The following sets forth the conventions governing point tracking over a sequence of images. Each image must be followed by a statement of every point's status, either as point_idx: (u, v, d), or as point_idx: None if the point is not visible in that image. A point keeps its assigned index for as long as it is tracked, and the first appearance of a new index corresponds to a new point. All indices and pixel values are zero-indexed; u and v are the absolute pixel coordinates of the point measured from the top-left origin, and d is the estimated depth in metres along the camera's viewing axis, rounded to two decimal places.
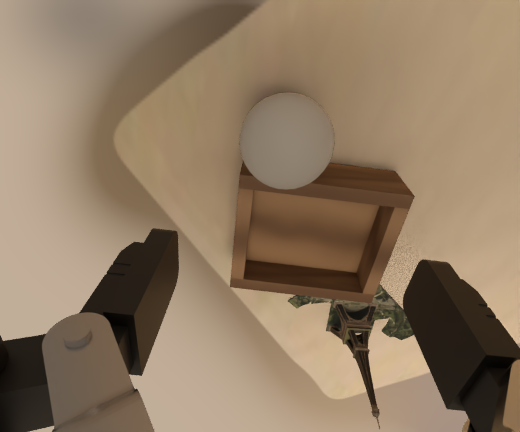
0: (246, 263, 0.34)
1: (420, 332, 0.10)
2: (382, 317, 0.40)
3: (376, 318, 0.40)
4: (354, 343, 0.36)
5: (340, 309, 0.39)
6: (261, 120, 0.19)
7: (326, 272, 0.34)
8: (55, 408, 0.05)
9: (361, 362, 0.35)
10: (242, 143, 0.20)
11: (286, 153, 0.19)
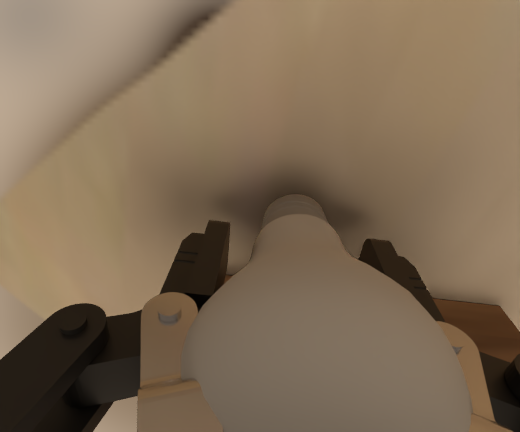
0: None
1: None
2: None
3: None
4: None
5: None
6: (226, 431, 0.05)
7: None
8: (143, 370, 0.06)
9: None
10: None
11: None
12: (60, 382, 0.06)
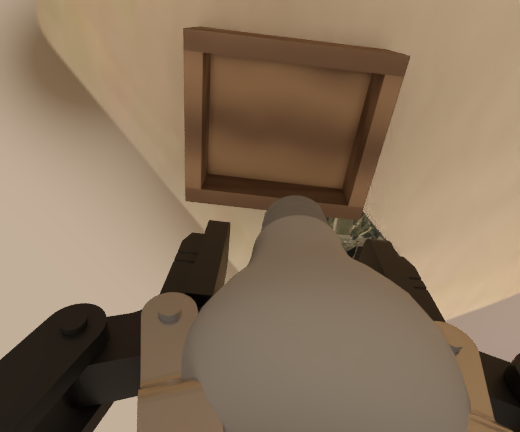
0: (207, 176, 0.28)
1: None
2: None
3: None
4: None
5: None
6: None
7: (305, 187, 0.28)
8: (143, 370, 0.06)
9: None
10: None
11: None
12: (60, 382, 0.06)
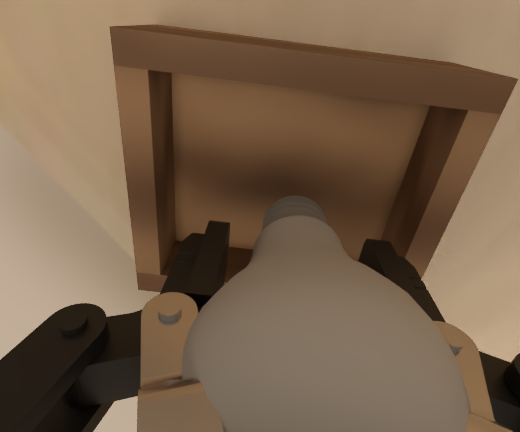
0: (175, 247, 0.19)
1: None
2: None
3: None
4: None
5: None
6: None
7: None
8: (142, 370, 0.06)
9: None
10: None
11: None
12: (60, 382, 0.06)
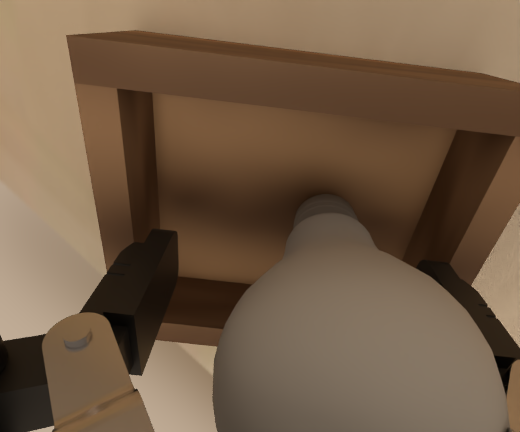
0: None
1: None
2: None
3: None
4: None
5: None
6: (278, 401, 0.05)
7: None
8: (55, 409, 0.05)
9: None
10: (215, 412, 0.07)
11: None
12: None
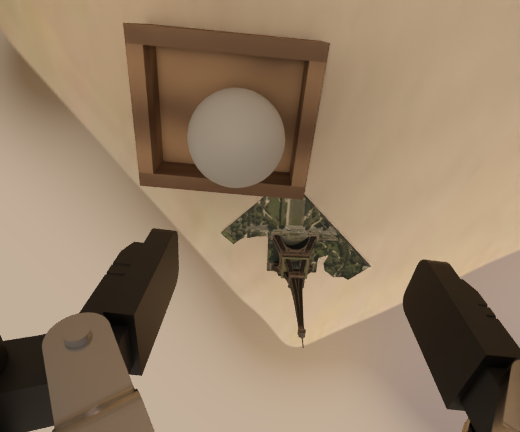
0: (162, 163, 0.30)
1: (420, 332, 0.10)
2: (326, 251, 0.37)
3: (319, 252, 0.37)
4: (289, 271, 0.33)
5: (277, 240, 0.35)
6: (204, 114, 0.18)
7: None
8: (54, 408, 0.05)
9: (294, 288, 0.31)
10: (188, 139, 0.20)
11: (228, 147, 0.18)
12: None
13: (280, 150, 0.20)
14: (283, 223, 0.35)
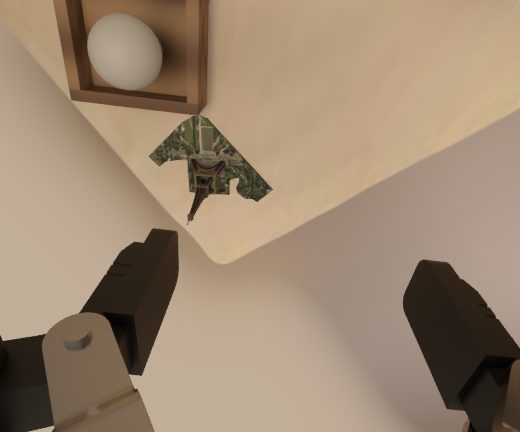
0: (92, 86, 0.38)
1: (420, 332, 0.10)
2: (235, 175, 0.45)
3: (230, 176, 0.46)
4: (196, 184, 0.41)
5: (193, 162, 0.44)
6: (94, 29, 0.27)
7: (164, 95, 0.38)
8: (55, 408, 0.05)
9: (196, 193, 0.40)
10: None
11: (109, 51, 0.26)
12: None
13: (153, 59, 0.28)
14: (197, 149, 0.44)
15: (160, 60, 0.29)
